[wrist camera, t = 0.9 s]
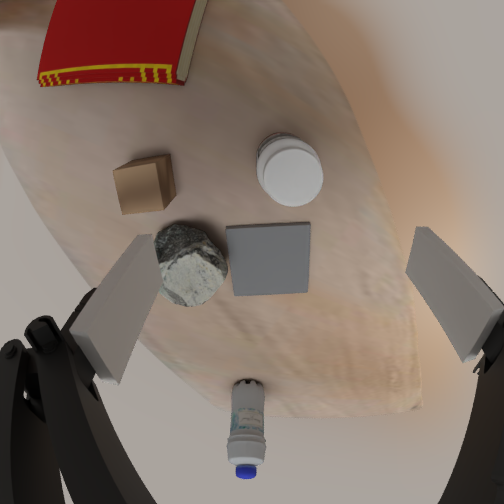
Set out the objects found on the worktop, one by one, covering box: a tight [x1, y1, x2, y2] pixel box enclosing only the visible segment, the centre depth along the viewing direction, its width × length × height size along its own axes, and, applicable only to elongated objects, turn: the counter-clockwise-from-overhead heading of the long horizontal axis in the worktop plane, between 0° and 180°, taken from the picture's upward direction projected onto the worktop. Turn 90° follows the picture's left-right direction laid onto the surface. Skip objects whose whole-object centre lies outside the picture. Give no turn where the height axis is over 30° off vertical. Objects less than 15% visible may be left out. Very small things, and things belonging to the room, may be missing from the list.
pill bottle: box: [256, 133, 323, 207], centre depth 25 cm, size 6×6×10 cm
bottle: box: [227, 380, 266, 479], centre depth 41 cm, size 7×7×20 cm
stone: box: [154, 224, 228, 307], centre depth 32 cm, size 10×10×10 cm
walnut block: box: [113, 154, 176, 215], centre depth 28 cm, size 5×5×5 cm
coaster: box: [226, 222, 310, 296], centre depth 35 cm, size 10×10×1 cm
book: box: [37, 0, 208, 87], centre depth 19 cm, size 18×13×5 cm
